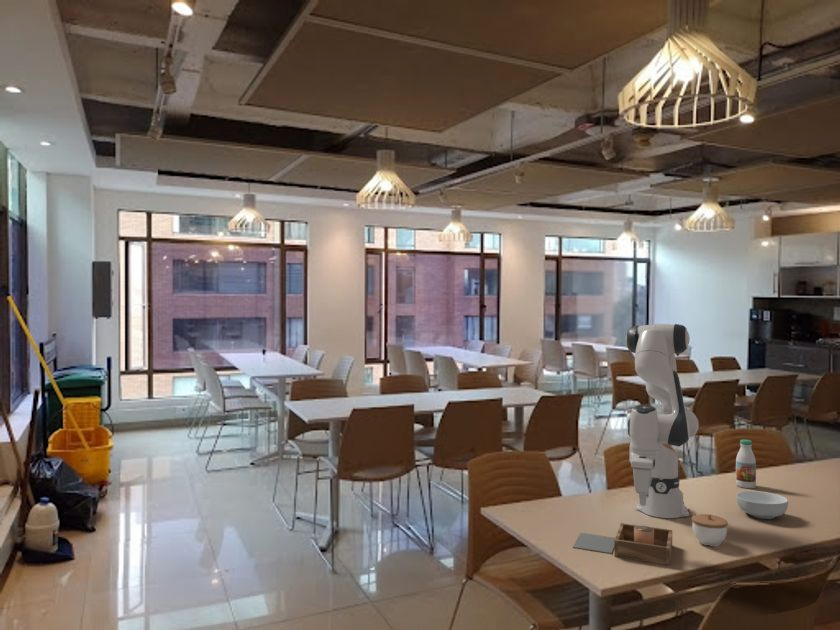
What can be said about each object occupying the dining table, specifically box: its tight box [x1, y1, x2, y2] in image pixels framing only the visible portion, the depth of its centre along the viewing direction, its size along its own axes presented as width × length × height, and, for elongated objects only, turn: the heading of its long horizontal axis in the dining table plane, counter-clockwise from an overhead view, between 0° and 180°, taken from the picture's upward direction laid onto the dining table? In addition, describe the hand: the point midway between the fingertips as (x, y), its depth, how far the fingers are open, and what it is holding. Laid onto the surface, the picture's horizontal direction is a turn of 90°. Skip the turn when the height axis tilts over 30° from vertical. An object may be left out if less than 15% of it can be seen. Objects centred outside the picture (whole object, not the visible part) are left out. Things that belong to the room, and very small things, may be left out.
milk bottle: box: [735, 439, 757, 489], centre depth 271 cm, size 8×8×20 cm
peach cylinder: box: [633, 525, 655, 545], centre depth 198 cm, size 6×6×7 cm
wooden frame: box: [613, 522, 673, 566], centre depth 198 cm, size 17×16×5 cm
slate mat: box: [572, 532, 615, 555], centre depth 204 cm, size 14×12×1 cm
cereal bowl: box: [735, 490, 789, 520], centre depth 232 cm, size 17×17×7 cm
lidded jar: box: [691, 513, 729, 547], centre depth 205 cm, size 11×11×9 cm
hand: (644, 501), depth 198 cm, fingers open, 8 cm apart
